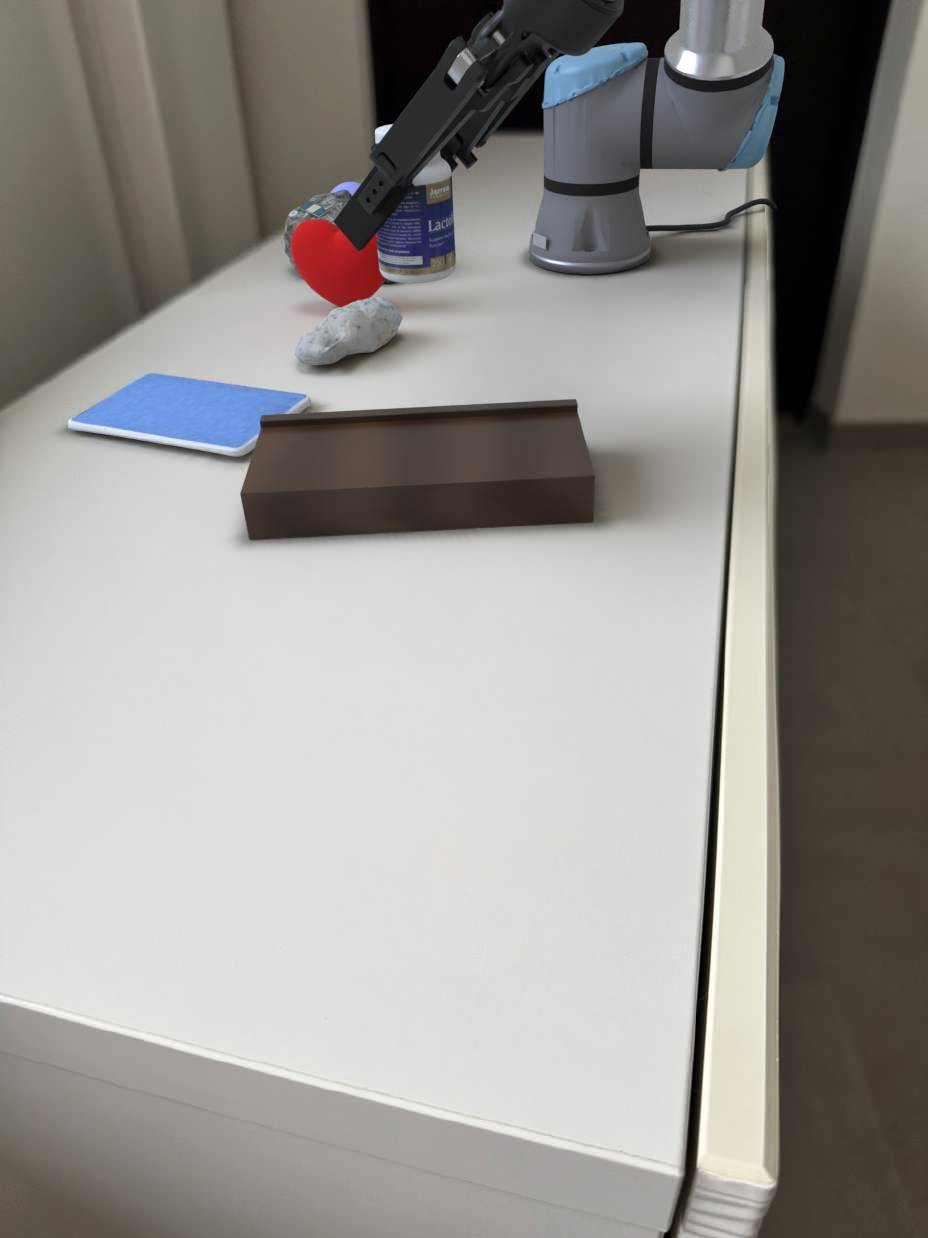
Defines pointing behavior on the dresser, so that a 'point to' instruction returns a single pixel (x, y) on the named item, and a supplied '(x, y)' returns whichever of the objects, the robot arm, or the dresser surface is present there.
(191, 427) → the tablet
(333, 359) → the decorative stone
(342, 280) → the heart
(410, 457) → the ledge
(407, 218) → the pill bottle
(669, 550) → the dresser surface
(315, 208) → the rock
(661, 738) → the dresser surface
